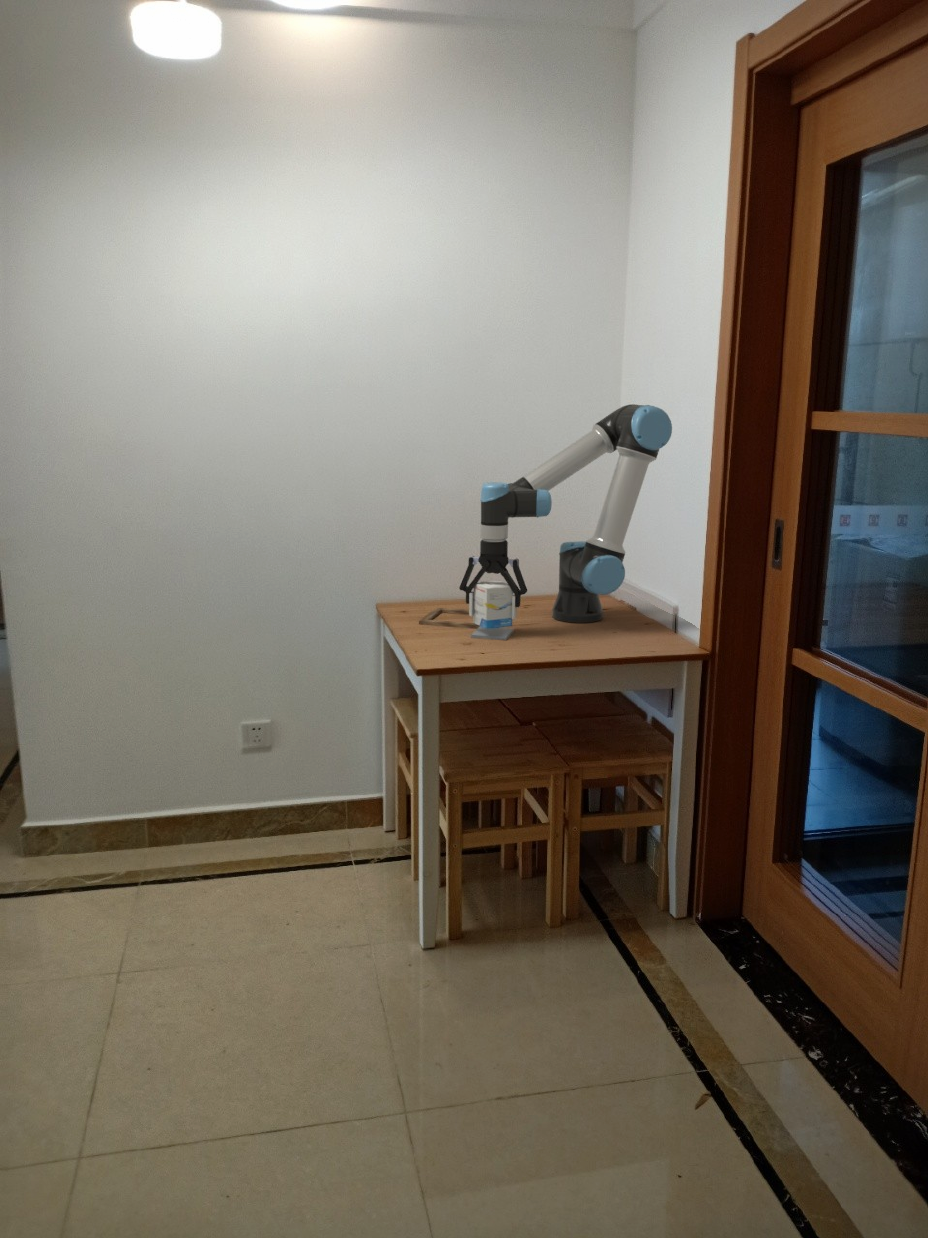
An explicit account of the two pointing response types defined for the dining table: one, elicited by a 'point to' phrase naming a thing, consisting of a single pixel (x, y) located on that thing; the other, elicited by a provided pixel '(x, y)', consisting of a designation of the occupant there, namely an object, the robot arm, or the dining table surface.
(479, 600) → the ink box
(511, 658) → the dining table surface
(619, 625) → the dining table surface
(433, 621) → the pocket frame
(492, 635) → the coaster
